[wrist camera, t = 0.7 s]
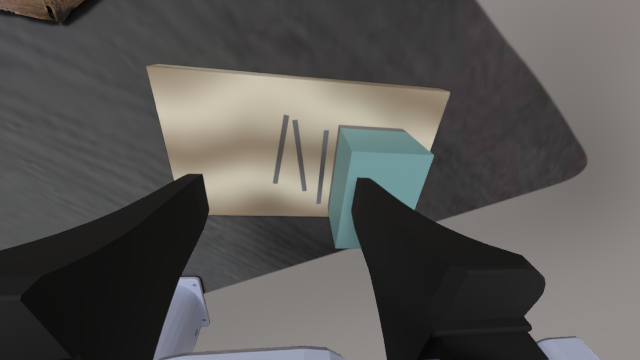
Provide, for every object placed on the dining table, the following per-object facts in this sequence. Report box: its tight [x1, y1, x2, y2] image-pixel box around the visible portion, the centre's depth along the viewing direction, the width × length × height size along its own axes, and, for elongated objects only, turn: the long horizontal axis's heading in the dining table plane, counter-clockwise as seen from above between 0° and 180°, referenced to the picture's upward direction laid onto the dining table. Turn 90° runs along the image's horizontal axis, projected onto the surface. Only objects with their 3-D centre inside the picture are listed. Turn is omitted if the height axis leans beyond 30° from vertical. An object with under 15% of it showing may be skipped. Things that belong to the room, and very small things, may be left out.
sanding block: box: [328, 125, 434, 248], centre depth 19 cm, size 8×5×5 cm, turn 175°
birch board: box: [147, 64, 450, 217], centre depth 20 cm, size 12×21×2 cm, turn 85°
